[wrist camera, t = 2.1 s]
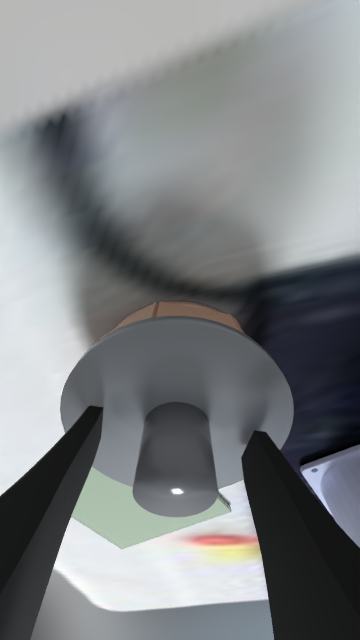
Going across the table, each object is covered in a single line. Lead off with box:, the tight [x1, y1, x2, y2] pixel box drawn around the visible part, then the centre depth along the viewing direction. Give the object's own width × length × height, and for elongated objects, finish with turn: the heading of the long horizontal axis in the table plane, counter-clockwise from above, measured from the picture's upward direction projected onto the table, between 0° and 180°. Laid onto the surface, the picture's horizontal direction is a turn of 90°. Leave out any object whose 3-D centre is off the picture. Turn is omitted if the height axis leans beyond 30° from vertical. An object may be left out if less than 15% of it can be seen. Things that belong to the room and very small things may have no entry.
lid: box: [60, 316, 294, 517], centre depth 10 cm, size 11×11×4 cm
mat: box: [71, 467, 231, 549], centre depth 21 cm, size 13×13×1 cm
